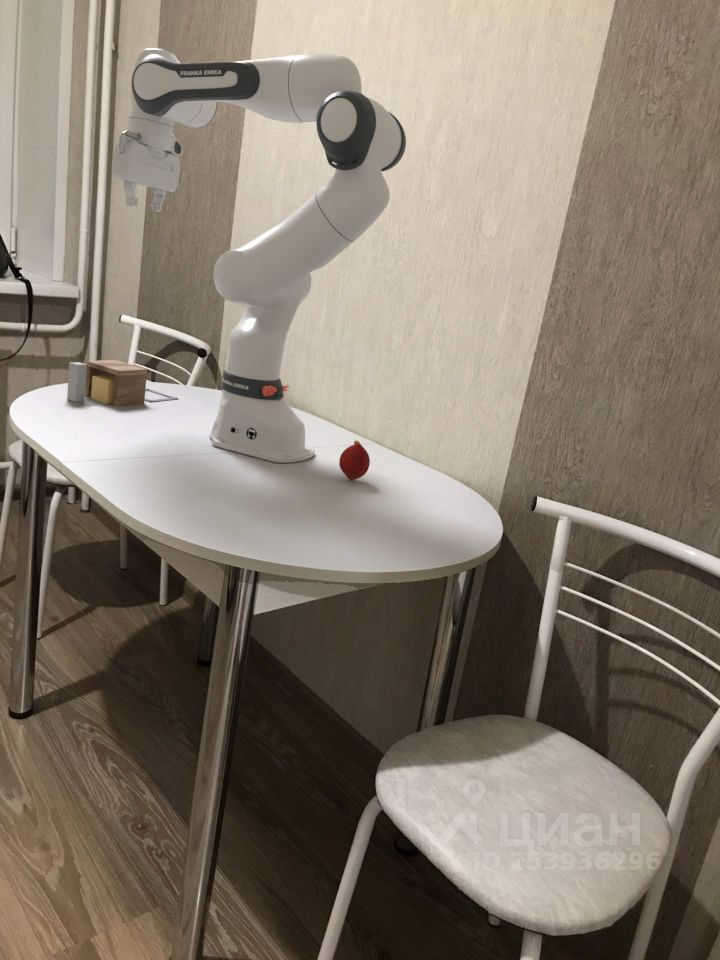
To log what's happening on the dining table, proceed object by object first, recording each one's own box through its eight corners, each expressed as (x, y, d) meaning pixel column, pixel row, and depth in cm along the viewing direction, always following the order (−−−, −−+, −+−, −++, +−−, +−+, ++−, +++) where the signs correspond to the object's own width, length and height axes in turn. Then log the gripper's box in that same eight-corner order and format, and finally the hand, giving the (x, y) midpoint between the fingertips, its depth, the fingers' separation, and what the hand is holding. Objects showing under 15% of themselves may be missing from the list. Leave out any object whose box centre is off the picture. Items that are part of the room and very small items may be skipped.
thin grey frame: (177, 404, 177) (178, 398, 176) (150, 407, 169) (150, 401, 169) (147, 394, 181) (147, 388, 181) (119, 397, 173) (119, 391, 173)
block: (124, 401, 165) (126, 379, 164) (107, 403, 161) (108, 381, 159) (108, 396, 167) (110, 374, 166) (91, 398, 163) (92, 375, 162)
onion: (359, 476, 146) (366, 437, 144) (370, 486, 141) (378, 446, 139) (332, 474, 144) (339, 435, 141) (342, 484, 139) (349, 444, 136)
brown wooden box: (143, 408, 167) (147, 369, 165) (116, 411, 161) (119, 371, 158) (112, 398, 172) (115, 359, 169) (84, 400, 165) (87, 361, 162)
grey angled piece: (140, 404, 169) (144, 366, 166) (87, 411, 156) (89, 369, 153) (121, 398, 172) (124, 359, 169) (66, 403, 159) (69, 362, 156)
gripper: (135, 130, 141) (129, 206, 145) (187, 149, 160) (180, 216, 164) (106, 125, 142) (101, 200, 146) (161, 145, 161) (155, 211, 165)
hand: (143, 208), depth 155 cm, fingers open, 8 cm apart
